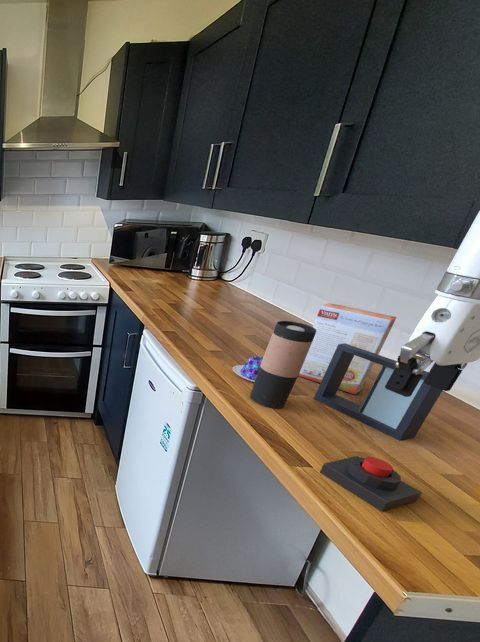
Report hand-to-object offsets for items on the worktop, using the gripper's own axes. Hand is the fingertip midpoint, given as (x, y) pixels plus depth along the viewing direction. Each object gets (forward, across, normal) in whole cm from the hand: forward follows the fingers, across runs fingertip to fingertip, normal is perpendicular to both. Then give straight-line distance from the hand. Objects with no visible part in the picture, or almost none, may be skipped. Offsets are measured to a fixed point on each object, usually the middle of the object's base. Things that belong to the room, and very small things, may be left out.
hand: (416, 389), depth 66 cm
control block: (+20, -1, -1) cm, 20 cm away
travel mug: (+20, +9, +27) cm, 35 cm away
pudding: (+20, +19, +38) cm, 47 cm away
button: (+16, -1, -1) cm, 16 cm away
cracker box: (+19, +36, +31) cm, 52 cm away
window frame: (+19, +26, +16) cm, 36 cm away
